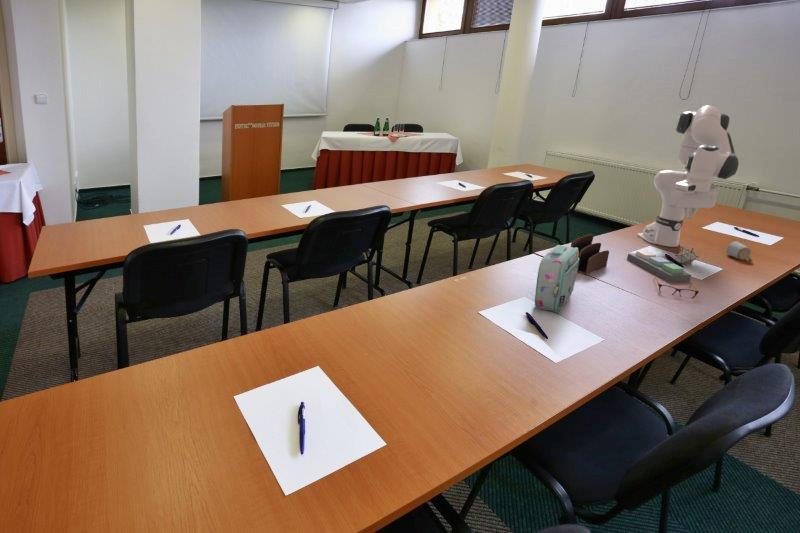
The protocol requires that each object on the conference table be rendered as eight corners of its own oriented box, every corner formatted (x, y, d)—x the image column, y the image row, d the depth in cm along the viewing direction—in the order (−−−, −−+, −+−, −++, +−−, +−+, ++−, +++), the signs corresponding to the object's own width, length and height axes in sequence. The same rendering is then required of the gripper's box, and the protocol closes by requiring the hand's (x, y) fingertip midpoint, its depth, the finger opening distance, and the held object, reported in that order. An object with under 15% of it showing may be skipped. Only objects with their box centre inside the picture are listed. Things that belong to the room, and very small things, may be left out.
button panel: (626, 258, 226) (628, 253, 225) (645, 258, 229) (647, 252, 227) (669, 281, 201) (671, 275, 200) (689, 281, 203) (691, 274, 202)
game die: (683, 270, 228) (696, 253, 227) (692, 270, 219) (706, 253, 219) (668, 259, 228) (681, 242, 228) (677, 258, 220) (690, 241, 219)
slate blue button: (647, 263, 216) (649, 257, 215) (658, 262, 217) (660, 256, 216) (656, 267, 211) (658, 261, 210) (668, 267, 212) (669, 261, 211)
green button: (660, 270, 208) (662, 263, 207) (672, 269, 210) (674, 263, 209) (670, 275, 203) (672, 268, 202) (682, 274, 204) (684, 268, 203)
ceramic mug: (736, 260, 235) (741, 246, 233) (724, 254, 243) (729, 241, 240) (754, 261, 237) (760, 246, 234) (741, 255, 245) (746, 241, 242)
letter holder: (565, 268, 208) (571, 238, 203) (586, 260, 221) (592, 231, 216) (586, 275, 202) (593, 245, 196) (606, 266, 214) (613, 237, 209)
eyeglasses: (656, 293, 189) (659, 284, 188) (652, 281, 202) (655, 272, 200) (696, 300, 185) (699, 291, 183) (689, 287, 197) (692, 279, 196)
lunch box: (558, 320, 160) (571, 262, 152) (529, 312, 164) (539, 255, 156) (573, 294, 181) (585, 242, 174) (547, 287, 186) (557, 236, 178)
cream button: (635, 256, 224) (636, 250, 223) (645, 256, 225) (647, 250, 224) (643, 261, 218) (645, 255, 217) (654, 260, 220) (656, 255, 219)
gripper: (712, 184, 197) (702, 216, 202) (671, 183, 193) (662, 215, 198) (724, 187, 192) (714, 220, 197) (683, 186, 187) (673, 219, 192)
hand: (688, 217), depth 197 cm, fingers closed
